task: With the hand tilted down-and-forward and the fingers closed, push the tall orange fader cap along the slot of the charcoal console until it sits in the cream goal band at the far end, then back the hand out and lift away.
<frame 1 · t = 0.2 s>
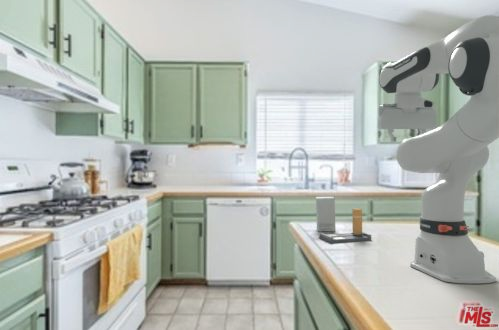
hand: (406, 141, 128), 39 cm above the counter, tool pointing down, fingers open, 8 cm apart
skincare box: (325, 230, 163), on the counter
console: (344, 239, 144), on the counter
fader: (357, 221, 145), point 7 cm above the counter, slide at 0.0 cm
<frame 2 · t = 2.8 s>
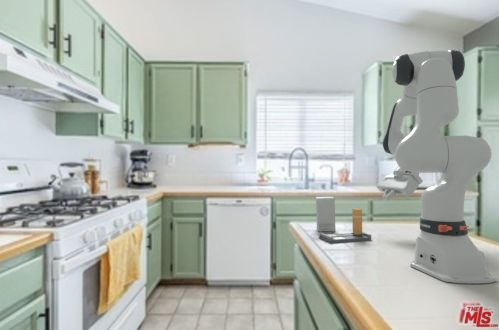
hand: (385, 198, 149), 16 cm above the counter, tool tilted 45°, fingers closed
nothing on the counter moved.
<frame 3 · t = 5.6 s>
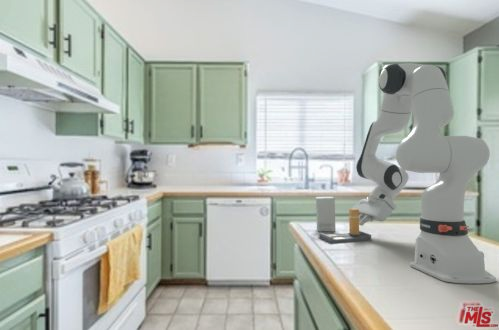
hand: (358, 224, 145), 6 cm above the counter, tool tilted 45°, fingers closed, pressing on fader
fader: (354, 222, 145), point 7 cm above the counter, slide at 1.5 cm, touching gripper
everything else where it was.
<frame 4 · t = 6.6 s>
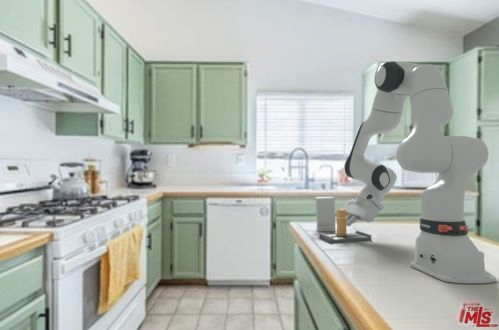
hand: (346, 224, 144), 6 cm above the counter, tool tilted 45°, fingers closed, pressing on fader
fader: (341, 222, 143), point 7 cm above the counter, slide at 7.3 cm, touching gripper
everything else where it was.
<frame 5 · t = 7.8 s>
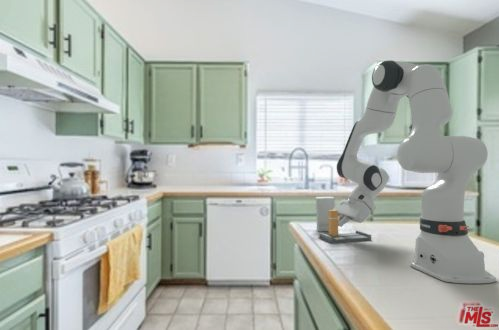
hand: (338, 225, 143), 6 cm above the counter, tool tilted 45°, fingers closed, pressing on fader
fader: (333, 223, 142), point 7 cm above the counter, slide at 11.0 cm, touching gripper
everything else where it was.
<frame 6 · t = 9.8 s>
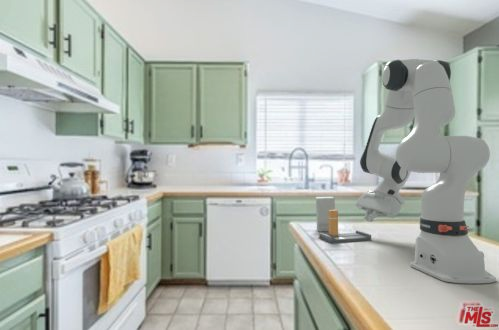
hand: (367, 220, 145), 8 cm above the counter, tool tilted 40°, fingers closed
fader: (333, 223, 142), point 7 cm above the counter, slide at 11.0 cm
everything else where it was.
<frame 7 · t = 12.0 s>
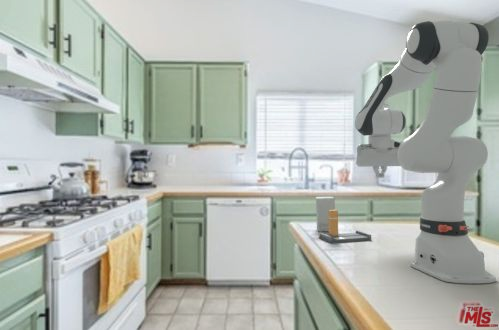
hand: (380, 177, 145), 25 cm above the counter, tool pointing down, fingers closed
nothing on the counter moved.
at the end: fader slide at 11.0 cm; fader touching nothing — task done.
